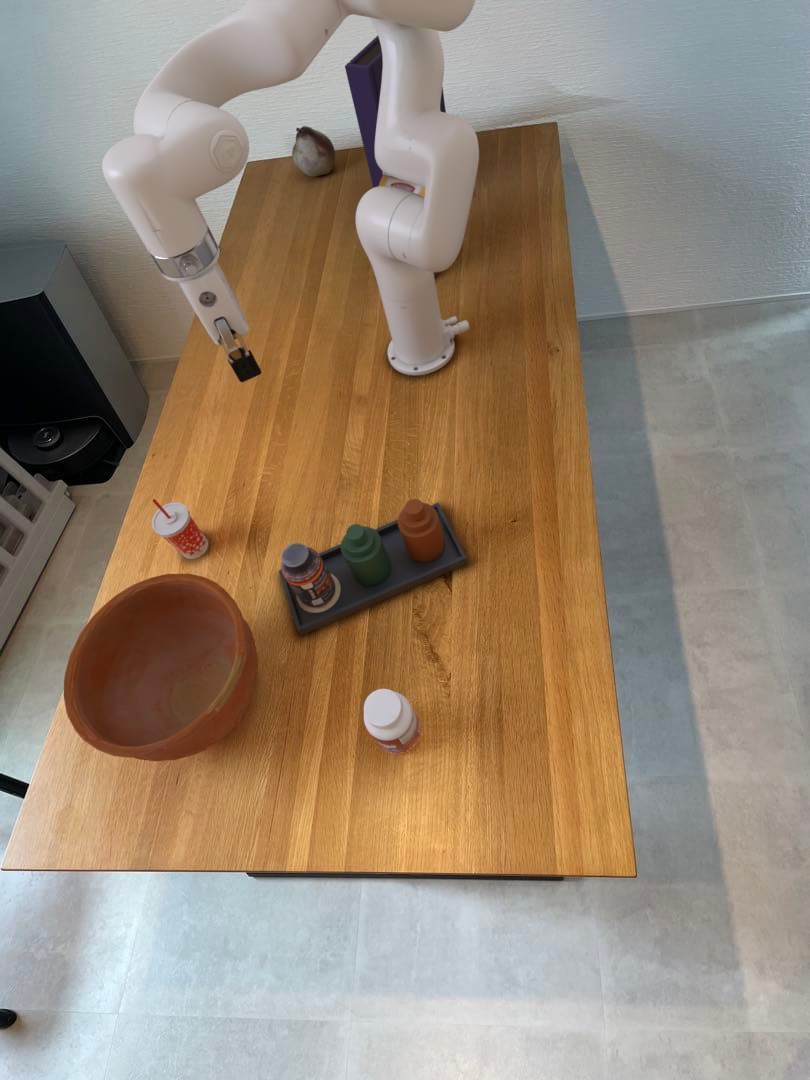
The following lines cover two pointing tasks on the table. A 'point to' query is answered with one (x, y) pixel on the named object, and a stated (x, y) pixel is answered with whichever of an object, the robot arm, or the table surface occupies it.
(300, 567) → the supplement bottle
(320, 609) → the target spot
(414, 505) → the amber bottle
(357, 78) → the book
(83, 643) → the bowl
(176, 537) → the beverage cup
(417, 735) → the pill bottle
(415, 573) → the tray
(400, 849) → the table surface
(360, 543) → the green bottle
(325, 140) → the fruit
